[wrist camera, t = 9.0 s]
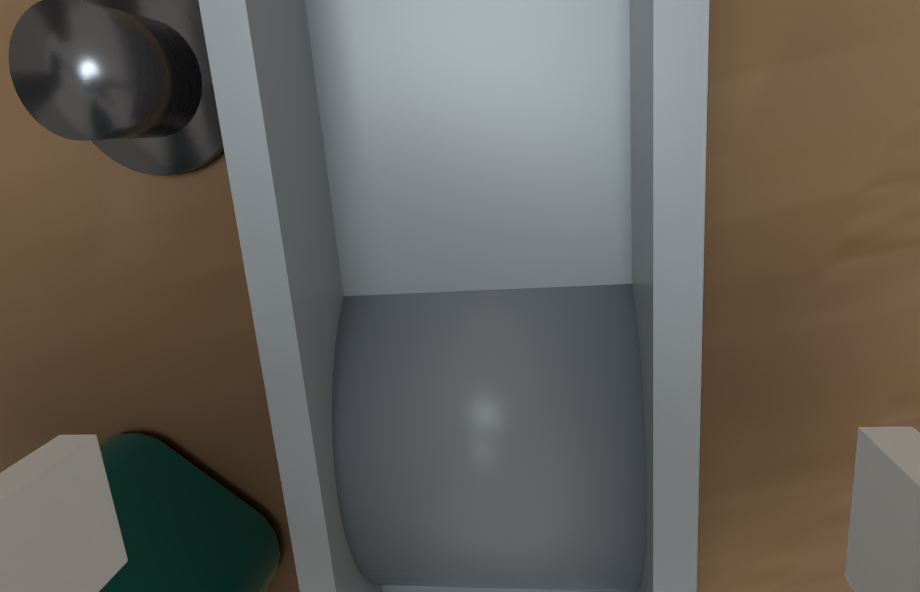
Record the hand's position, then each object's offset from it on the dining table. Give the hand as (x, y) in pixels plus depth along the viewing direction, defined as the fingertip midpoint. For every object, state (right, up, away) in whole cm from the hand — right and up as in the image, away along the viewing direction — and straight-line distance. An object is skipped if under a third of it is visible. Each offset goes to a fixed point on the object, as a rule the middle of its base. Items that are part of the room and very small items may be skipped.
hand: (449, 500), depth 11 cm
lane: (+1, +14, +13) cm, 20 cm away
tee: (-10, +11, +10) cm, 17 cm away
